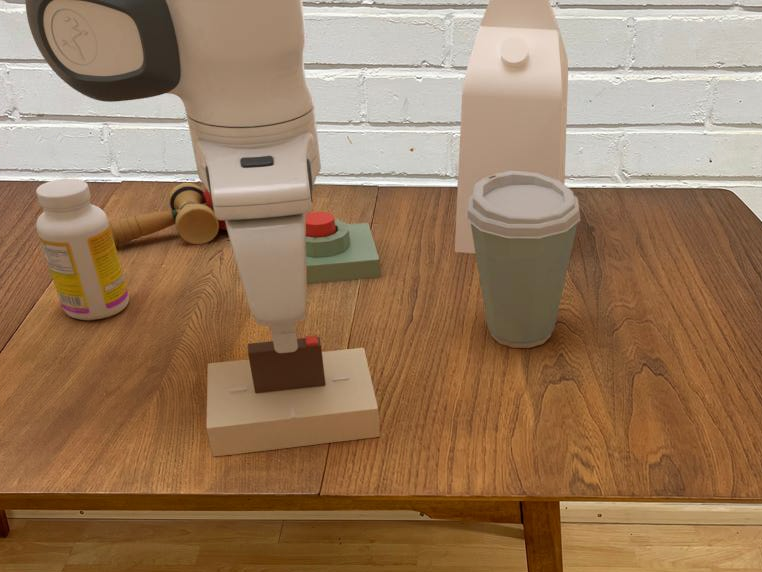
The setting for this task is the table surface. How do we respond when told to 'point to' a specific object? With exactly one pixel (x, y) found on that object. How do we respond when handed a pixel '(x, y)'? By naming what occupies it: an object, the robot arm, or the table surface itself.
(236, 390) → the panel
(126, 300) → the supplement bottle
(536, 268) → the disposable coffee cup
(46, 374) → the table surface
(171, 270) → the table surface
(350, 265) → the button box
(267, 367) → the brown box red tab
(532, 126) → the milk
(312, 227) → the button
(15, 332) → the table surface
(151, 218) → the kendama
